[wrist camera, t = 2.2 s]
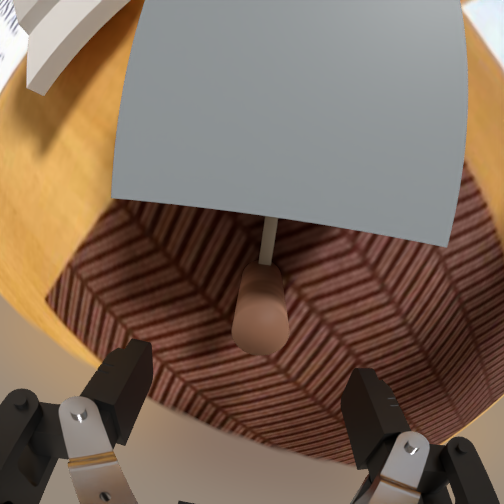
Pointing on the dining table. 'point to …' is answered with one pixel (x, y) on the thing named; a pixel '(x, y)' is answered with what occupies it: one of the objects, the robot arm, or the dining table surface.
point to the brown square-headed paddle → (261, 302)
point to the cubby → (299, 111)
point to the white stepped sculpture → (59, 33)
